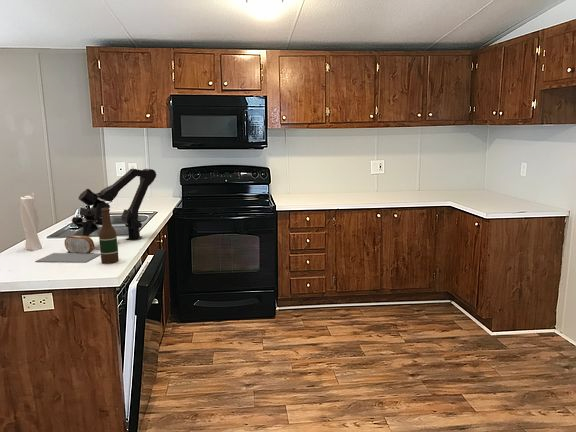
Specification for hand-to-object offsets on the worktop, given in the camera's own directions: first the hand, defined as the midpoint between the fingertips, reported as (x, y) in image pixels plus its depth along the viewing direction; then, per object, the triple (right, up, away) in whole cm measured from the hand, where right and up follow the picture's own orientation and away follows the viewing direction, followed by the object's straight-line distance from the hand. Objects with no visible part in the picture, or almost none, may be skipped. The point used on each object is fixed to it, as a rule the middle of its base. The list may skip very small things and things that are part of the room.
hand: (83, 237), depth 227 cm
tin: (-1, -8, -2) cm, 8 cm away
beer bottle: (+20, -10, -18) cm, 29 cm away
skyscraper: (-28, -6, +7) cm, 30 cm away
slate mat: (-2, -9, -11) cm, 15 cm away
